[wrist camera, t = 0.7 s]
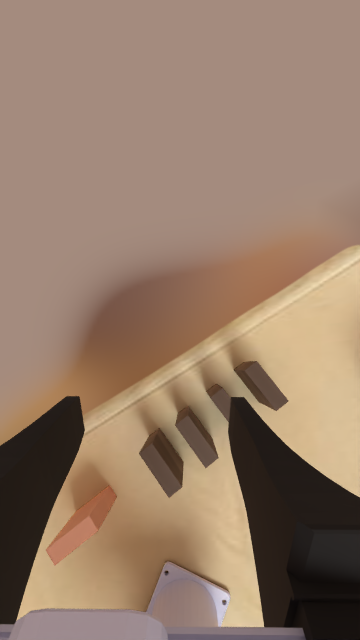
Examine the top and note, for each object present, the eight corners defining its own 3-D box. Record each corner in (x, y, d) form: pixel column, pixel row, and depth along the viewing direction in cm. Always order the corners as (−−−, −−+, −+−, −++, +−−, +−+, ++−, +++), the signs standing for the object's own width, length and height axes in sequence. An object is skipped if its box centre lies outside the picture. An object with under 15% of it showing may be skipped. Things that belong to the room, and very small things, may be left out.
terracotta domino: (117, 496, 33) (98, 530, 26) (82, 523, 33) (54, 565, 26) (109, 485, 33) (89, 515, 27) (75, 511, 33) (45, 549, 26)
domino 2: (202, 447, 34) (205, 468, 27) (177, 413, 35) (175, 425, 28) (212, 439, 34) (218, 457, 27) (188, 405, 35) (187, 415, 28)
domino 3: (230, 424, 34) (241, 439, 27) (206, 391, 35) (210, 397, 28) (241, 416, 34) (253, 429, 27) (216, 383, 35) (222, 387, 28)
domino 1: (173, 470, 33) (168, 497, 27) (149, 436, 34) (139, 453, 27) (183, 462, 34) (182, 487, 27) (159, 427, 34) (152, 443, 27)
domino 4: (258, 402, 34) (276, 410, 28) (233, 369, 35) (244, 370, 28) (268, 394, 35) (288, 401, 28) (243, 362, 35) (256, 361, 28)
